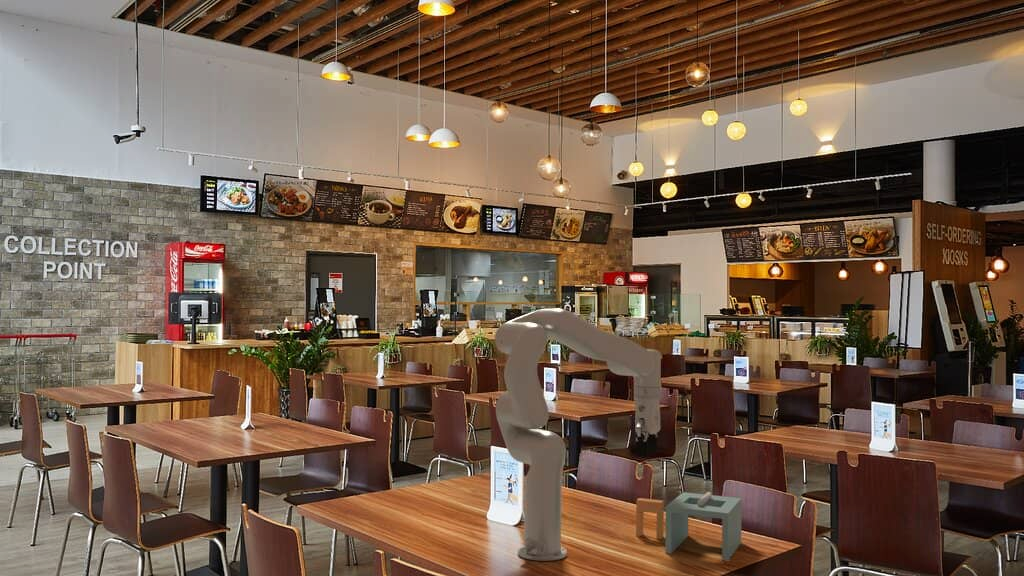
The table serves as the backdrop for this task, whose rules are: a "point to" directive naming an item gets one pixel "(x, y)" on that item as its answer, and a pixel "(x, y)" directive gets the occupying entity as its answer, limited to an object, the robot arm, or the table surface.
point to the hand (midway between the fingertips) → (646, 453)
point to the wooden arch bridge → (651, 507)
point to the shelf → (682, 509)
